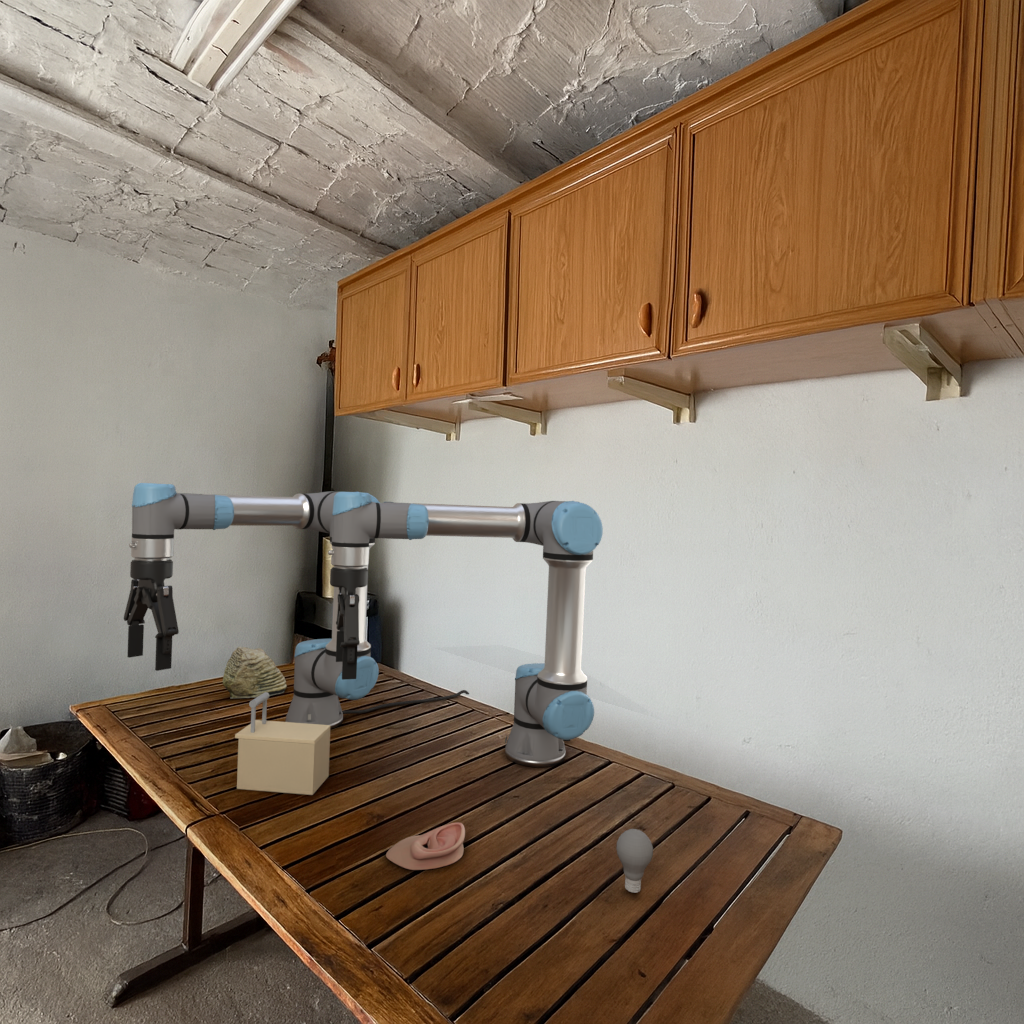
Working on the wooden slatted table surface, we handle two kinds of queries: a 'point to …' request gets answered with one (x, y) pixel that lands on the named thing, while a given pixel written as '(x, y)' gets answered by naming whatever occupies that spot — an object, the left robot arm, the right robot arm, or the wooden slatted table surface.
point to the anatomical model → (430, 848)
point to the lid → (279, 727)
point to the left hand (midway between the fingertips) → (148, 662)
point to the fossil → (252, 674)
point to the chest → (283, 765)
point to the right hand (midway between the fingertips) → (345, 669)
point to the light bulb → (634, 857)
